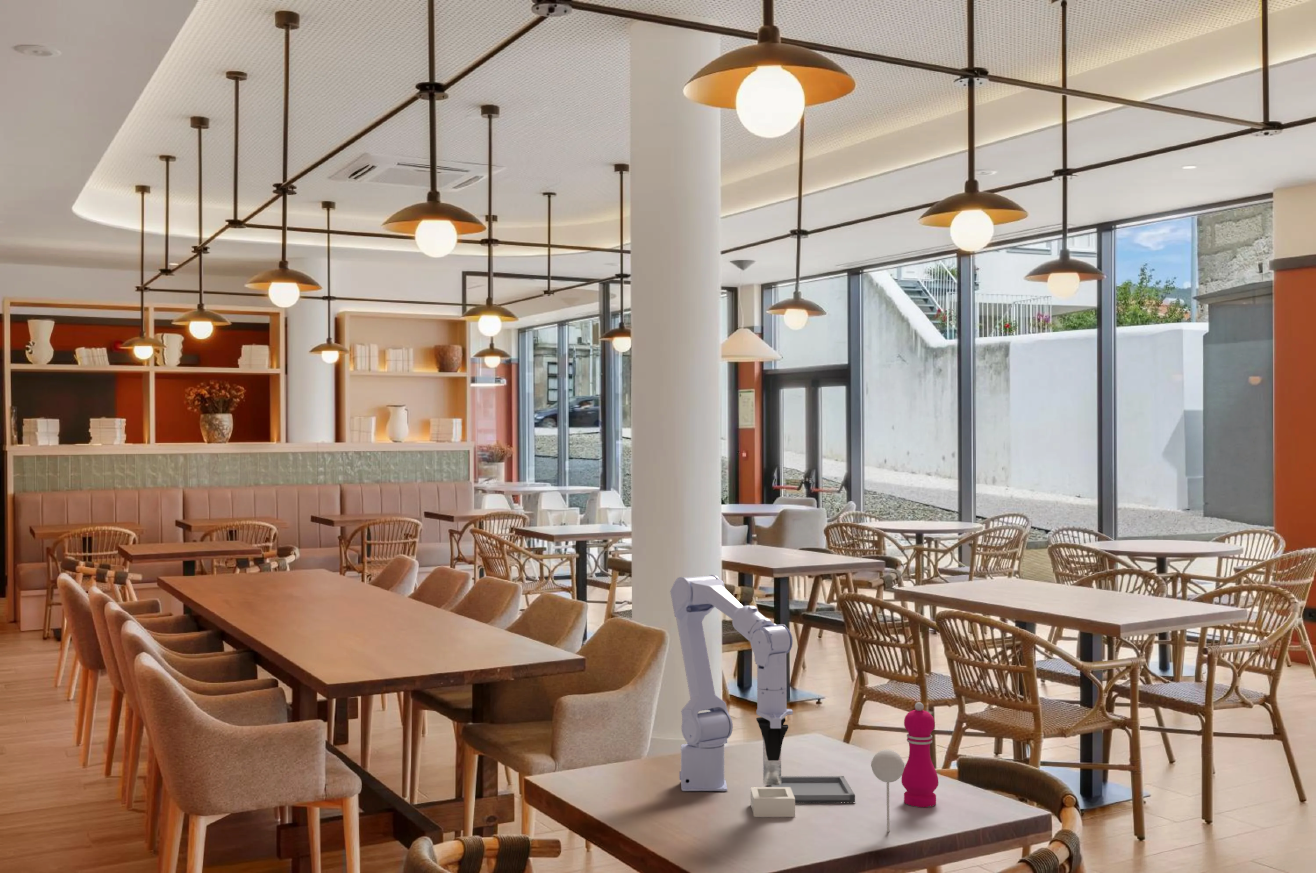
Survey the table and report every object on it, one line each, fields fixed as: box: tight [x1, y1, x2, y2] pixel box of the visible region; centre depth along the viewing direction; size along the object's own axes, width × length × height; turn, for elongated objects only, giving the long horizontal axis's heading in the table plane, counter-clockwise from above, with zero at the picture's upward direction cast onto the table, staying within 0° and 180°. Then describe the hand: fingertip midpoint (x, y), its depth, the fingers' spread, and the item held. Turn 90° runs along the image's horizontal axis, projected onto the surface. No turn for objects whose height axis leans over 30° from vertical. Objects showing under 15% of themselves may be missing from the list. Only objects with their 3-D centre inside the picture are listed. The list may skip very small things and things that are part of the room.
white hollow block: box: [750, 786, 796, 818], centre depth 223 cm, size 8×8×4 cm
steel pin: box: [762, 737, 782, 786], centre depth 223 cm, size 4×4×9 cm
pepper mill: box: [900, 701, 939, 808], centre depth 228 cm, size 7×7×20 cm
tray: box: [768, 775, 856, 804], centre depth 235 cm, size 16×14×2 cm
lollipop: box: [870, 748, 905, 833], centre depth 210 cm, size 6×6×15 cm
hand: (772, 757), depth 223 cm, fingers closed on steel pin, 3 cm apart
